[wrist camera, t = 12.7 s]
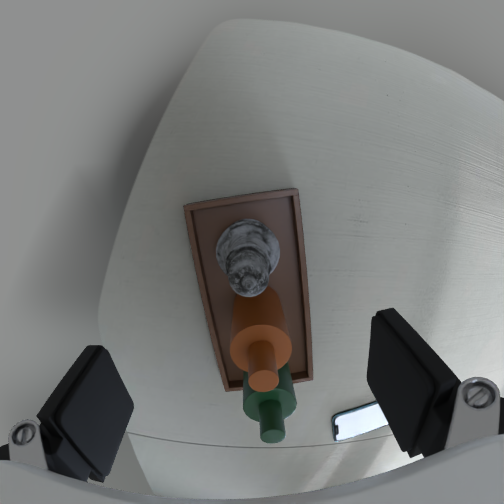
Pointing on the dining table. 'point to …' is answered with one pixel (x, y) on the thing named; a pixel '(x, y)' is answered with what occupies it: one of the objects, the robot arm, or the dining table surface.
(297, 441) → the dining table surface
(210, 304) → the tray
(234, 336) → the amber bottle
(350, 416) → the smartphone
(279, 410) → the dark green bottle
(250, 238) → the salt shaker
